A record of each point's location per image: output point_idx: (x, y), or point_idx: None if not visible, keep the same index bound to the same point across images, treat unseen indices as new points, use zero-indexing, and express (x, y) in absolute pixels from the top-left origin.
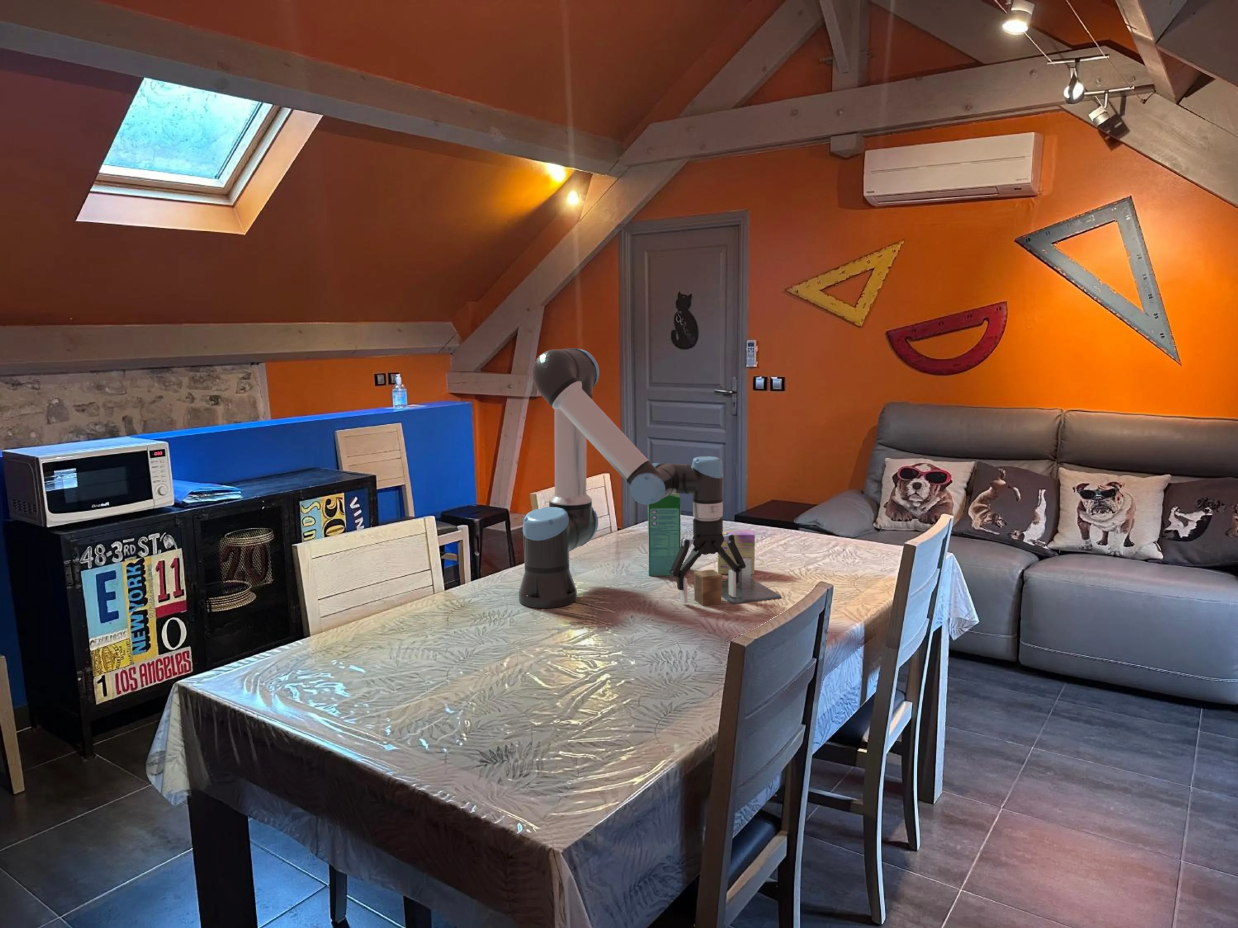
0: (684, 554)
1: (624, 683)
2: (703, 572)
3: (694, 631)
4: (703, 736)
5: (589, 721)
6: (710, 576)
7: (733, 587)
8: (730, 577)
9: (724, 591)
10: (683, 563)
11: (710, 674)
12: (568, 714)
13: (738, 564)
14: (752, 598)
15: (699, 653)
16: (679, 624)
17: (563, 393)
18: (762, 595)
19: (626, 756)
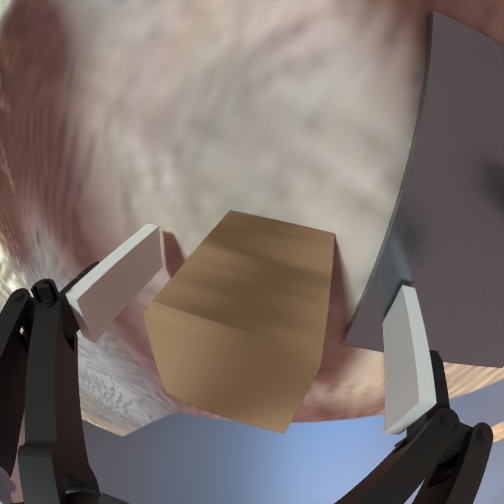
0: (10, 431)
1: None
2: (201, 364)
3: (142, 374)
4: (120, 434)
5: None
6: (213, 409)
7: (385, 360)
8: (401, 379)
9: (432, 226)
10: (29, 359)
11: (137, 424)
12: None
13: (444, 457)
14: None
15: (135, 405)
16: (119, 339)
17: None
18: (479, 346)
19: (82, 412)
